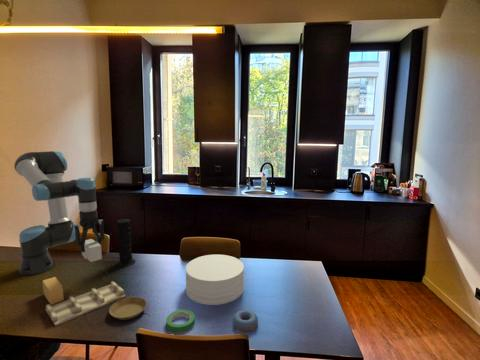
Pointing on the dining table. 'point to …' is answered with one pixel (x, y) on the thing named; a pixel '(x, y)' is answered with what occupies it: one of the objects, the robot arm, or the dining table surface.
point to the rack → (84, 303)
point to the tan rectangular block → (53, 290)
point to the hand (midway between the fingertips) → (91, 255)
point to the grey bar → (93, 250)
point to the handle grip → (124, 243)
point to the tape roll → (180, 327)
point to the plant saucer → (128, 308)
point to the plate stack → (214, 279)
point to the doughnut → (245, 320)
